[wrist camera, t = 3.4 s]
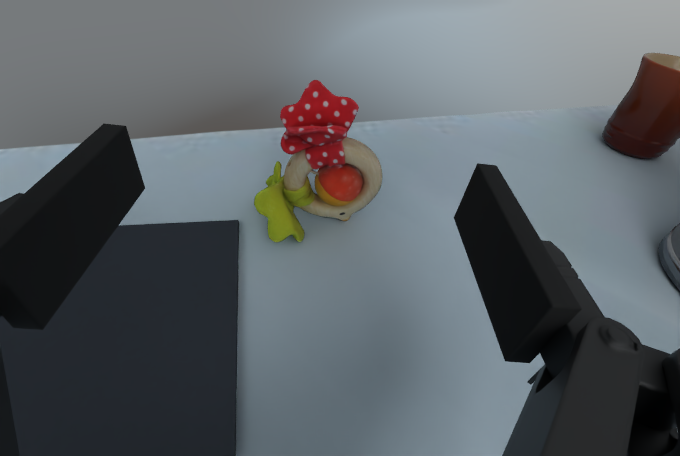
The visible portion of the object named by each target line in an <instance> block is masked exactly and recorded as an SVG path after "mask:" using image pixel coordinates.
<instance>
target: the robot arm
mask: <svg viewBox="0 0 680 456" xmlns="http://www.w3.org/2000/svg"><path fill="white" fill-rule="evenodd" d="M144 189H145V186H144V183H143V180H142V176H141V173H140V170H139V167H138V164H137V160H136V157H135V154H134V151H133V147H132V144H131V141H130V138H129V135H128V131H127V128H126V126H121V125H111V124H103V125H102V126H101V127H100V128H99V129H98V130H96V131H95V132H94V133H93V134H92V135H90V136H89V137H88V138H87V139H86V140H85V141H84V142H82V143H81V144H80V145H79V146H78V147H77V148H76V149H75V150H73V151H72V152H71V153H70V154H69V155H68V156H67V157H65V158H64V159H63V160H62V161H61V162H60V163H59V164H57V165H56V166H55V167H54V168H53V169H52V170H51V171H50V172H48V173H47V174H46V175H45V176H44V177H43V178H42V179H40V180H39V181H38V182H37V183H36V184H35V185H34V186H32V187H31V188H30V189H29V190H28V191H27V192H26V193H24V194H22V193H18V194H16V195H14V196H12V197H10V198H8V199H6V200H4V201H2V202H0V317H1V316H3V317H4V318H5V319H6V321H7V322H8V323H9V324H10V325H11V326H12V327H13V328H21V329H36V330H43V329H44V328H45V326H46V325H47V323H48V322H49V321H50V319H51V318H52V317H53V315H54V314H55V312H56V311H57V310H58V308H59V307H60V305H61V304H62V303H63V301H64V300H65V299H66V297H67V296H68V294H69V293H70V292H71V290H72V289H73V287H74V286H75V285H76V283H77V282H78V281H79V279H80V278H81V276H82V275H83V274H84V272H85V271H86V269H87V268H88V267H89V265H90V264H91V263H92V261H93V260H94V258H95V257H96V256H97V254H98V253H99V251H100V250H101V249H102V247H103V246H104V245H105V243H106V242H107V240H108V239H109V238H110V236H111V235H112V233H113V232H114V231H115V229H116V228H117V227H118V225H119V224H120V222H121V221H122V220H123V218H124V217H125V215H126V214H127V213H128V211H129V210H130V209H131V207H132V206H133V204H134V203H135V202H136V200H137V199H138V197H139V196H140V195H141V193H142V192H143V191H144ZM454 219H455V222H456V225H457V228H458V230H459V233H460V236H461V239H462V242H463V244H464V247H465V250H466V253H467V256H468V258H469V261H470V264H471V267H472V270H473V272H474V275H475V278H476V281H477V284H478V286H479V289H480V292H481V295H482V298H483V301H484V303H485V306H486V309H487V312H488V315H489V317H490V320H491V323H492V326H493V329H494V331H495V334H496V337H497V340H498V343H499V345H500V348H501V351H502V354H503V357H504V359H505V361H508V362H523V363H530V362H531V361H532V360H533V359H534V358H535V357H536V356H537V355H538V354H539V353H540V354H541V356H542V358H543V360H544V363H545V365H544V366H543V367H542V368H541V369H540V370H539V371H538V372H537V373H536V374H534V375H533V376H532V377H531V378H530V380H529V381H528V383H529V384H532V383H533V382H534V381H535V382H534V384H533V386H532V389H531V391H530V393H529V396H528V398H527V400H526V402H525V405H524V407H523V409H522V412H521V414H520V416H519V418H518V421H517V423H516V425H515V428H514V430H513V432H512V435H511V437H510V439H509V441H508V444H507V446H506V448H505V451H504V453H503V455H502V456H680V348H679V349H678V350H676V351H675V352H674V353H672V354H668V353H666V352H663V351H660V350H657V349H654V348H651V347H648V346H645V345H642V344H641V342H640V340H639V339H638V338H637V337H636V336H635V335H634V333H633V332H632V331H631V330H629V329H628V328H627V327H625V326H624V325H622V324H621V323H619V322H617V321H615V320H612V319H610V318H605V317H604V315H603V314H602V312H601V311H600V309H599V308H598V306H597V305H596V303H595V301H594V300H593V298H592V297H591V295H590V294H589V292H588V290H587V289H586V287H585V286H584V284H583V283H582V281H581V280H580V279H578V275H577V273H576V272H575V270H574V269H573V268H571V264H570V262H569V261H568V259H567V258H566V256H565V255H564V253H563V252H562V251H561V250H560V249H558V248H557V247H556V246H555V245H554V244H553V243H552V242H551V241H541V239H540V238H539V236H538V234H537V233H536V231H535V229H534V228H533V226H532V224H531V223H530V221H529V219H528V218H527V216H526V214H525V213H524V211H523V209H522V208H521V206H520V204H519V203H518V201H517V199H516V198H515V196H514V194H513V193H512V191H511V189H510V188H509V186H508V184H507V183H506V181H505V179H504V178H503V176H502V174H501V172H500V171H499V169H498V167H497V166H495V165H486V164H477V165H476V168H475V170H474V172H473V175H472V177H471V179H470V182H469V184H468V186H467V189H466V191H465V193H464V196H463V198H462V200H461V203H460V205H459V207H458V209H457V212H456V214H455V216H454ZM659 257H660V260H661V263H662V265H663V268H664V270H665V271H666V273H667V275H668V276H669V278H670V279H671V280H672V282H673V283H674V284H675V286H676V287H677V288H678V289H679V290H680V224H678V225H677V226H675V227H674V228H673V229H672V230H671V231H670V232H669V233H668V234H667V235H666V236H665V237H664V238H663V239H662V241H661V242H660V245H659ZM677 430H678V432H677ZM0 456H20V454H19V448H18V443H17V437H16V431H15V426H14V420H13V414H12V408H11V403H10V397H9V391H8V386H7V380H6V374H5V369H4V363H3V357H2V351H1V346H0Z"/></svg>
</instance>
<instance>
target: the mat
mask: <svg viewBox="0 0 680 456" xmlns="http://www.w3.org/2000/svg"><path fill="white" fill-rule="evenodd" d="M238 242H239V221H238V220H230V221H208V222H187V223H166V224H144V225H123V226H118V227H117V228H116V229H115V231H114V232H113V233H112V235H111V236H110V238H109V239H108V240H107V242H106V243H105V245H104V246H103V247H102V249H101V250H100V251H99V253H98V254H97V256H96V257H95V258H94V260H93V261H92V263H91V264H90V265H89V267H88V268H87V269H86V271H85V272H84V274H83V275H82V276H81V278H80V279H79V281H78V282H77V283H76V285H75V286H74V287H73V289H72V290H71V292H70V293H69V294H68V296H67V297H66V299H65V300H64V301H63V303H62V304H61V305H60V307H59V308H58V310H57V311H56V312H55V314H54V315H53V317H52V318H51V319H50V321H49V322H48V323H47V325H46V326H45V328H44V329H43V330H36V329H21V328H13V327H12V326H11V325H10V324H9V323H8V322H7V321H6V319H5V318H4V317H3V316H1V317H0V346H1V351H2V357H3V363H4V369H5V374H6V380H7V386H8V391H9V397H10V403H11V408H12V414H13V420H14V426H15V431H16V437H17V443H18V448H19V454H20V456H236V389H237V316H238Z"/></svg>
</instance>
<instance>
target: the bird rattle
mask: <svg viewBox="0 0 680 456" xmlns="http://www.w3.org/2000/svg"><path fill="white" fill-rule="evenodd" d="M358 108H359V107H358V105H357V104H356V103H355V101H353V100H352V99H351V98H348V97H338V96H335V95H333V94H332V93H331V92H330V91H329V90H327V89H326V87H325V86H324V85H323V84H322V83H321V82H319V81H318V80H313V81H312V82H311V83H310V84H309V85H308V86H307V87H306V89H305V91H304V93H303V95H302V97H301V98H300V100H299V102H298V103H296V104H293V105H288V106H285V107H283V109H282V110H281V116H280V118H281V120H282V122H283V124H284V126H285V127H286V132H285V133H284V134H283V136H282V139H281V147H282V149H283V151H284V152H286V153H288V154H293V156H292V157H291V158H290V160H289V162H288V164H287V166H286V169H285V174H284V176H283V177H281V163H280V162H279V161H277V162H276V165H275V167H274V174H273V175H272V176H270V177H269V178H268V179H267V181H266V184H267V185H268V187H267V188H265V189H263V190H261V191H260V192H259V193H258V194H257V195H256V196H255V201H254V205H255V207H256V209H257V211H258V212H259V213H260V214H262V215H264V216H266V217H267V218H268V235H269V238H270V239H271V240H272V241H274V242H280V241H283V240H284V239H285V238H287V237H288V236H289V235H293V237H294V238H295V239H296V240H297V241H298V242H301V241H302V240H303V238H304V230H303V228H302V226H301V225H300V223H299V221H298V220H297V218H296V216H295V214H294V213H293V209H294V206H296V207H299V208H301V209H303V210H304V211H306V212H309V213H311V214H314V215H317V216H322V217H333V218H337V219H340V220H342V221H347V220H348V219H349V218H350V217H351V215H352V214H353V213H355V212H357V211H359V210H361V209H362V208H364V207H365V206H366V205H367V204H369V203H370V202H371V201H372V200H373V198H374V197H375V196H376V195H377V193H378V191H379V189H380V187H381V183H382V169H381V165H380V162H379V160H378V158H377V157H376V155H375V154H374V152H373V151H372V150H371V149H370V148H368V147H367V146H366V145H365V144H363V143H361V142H359V141H357V140H355V139H352V138H348V137H347V132H348V130H349V128H350V126H351V124H352V122H353V120H354V119H355V116H356V114H357V112H358ZM313 169H315V170H316V169H319V170H318V171H317V172H315V171H313ZM310 172H311V173H313V174H316V177H315V189H316V192H317V194H315V193H314V192H313V190H312V188H311V185H310V183H309V179H308V177H307V175H308V174H309V173H310Z"/></svg>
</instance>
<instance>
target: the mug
mask: <svg viewBox="0 0 680 456" xmlns="http://www.w3.org/2000/svg"><path fill="white" fill-rule="evenodd" d="M602 137H603V139H604V141H605V143H606V144H607V145H608V146H610V147H611V148H613V149H614V150H616V151H618V152H620V153H623V154H625V155H628V156H631V157H635V158H640V159H652V158H657V157H660V156H661V155H662V154H664V153H665V152H666V151H668V150H669V148H670V147H671V146H673V145H674V144H675V143H676V141H677V140H678V139H679V138H680V57H678V56H673V55H668V54H660V53H647V54H644V56H643V57H642V61H641V64H640V68H639V70H638V73H637V76H636V79H635V81H634V83H633V85H632V87H631V88H630V90H629V91H628V93H627V94H626V96H625V97H624V98H623V100H622V101H621V102H620V104H619V105H618V107H617V108H616V110H615V111H614V113H613V114H612V116H611V117H610V118H609V120H608V122H607V125H606V126H605V128H604V131H603V133H602Z"/></svg>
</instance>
